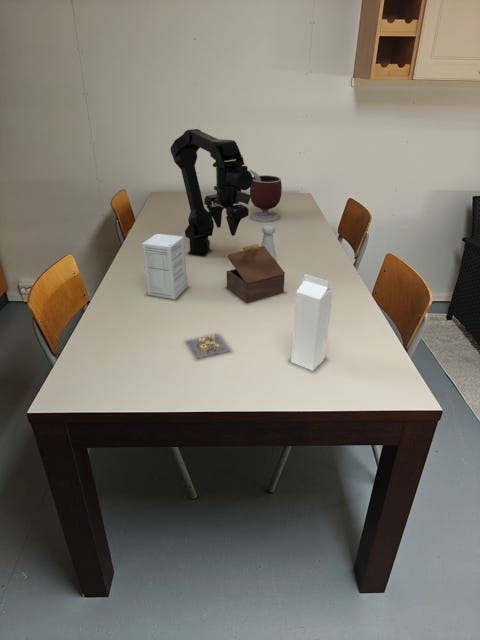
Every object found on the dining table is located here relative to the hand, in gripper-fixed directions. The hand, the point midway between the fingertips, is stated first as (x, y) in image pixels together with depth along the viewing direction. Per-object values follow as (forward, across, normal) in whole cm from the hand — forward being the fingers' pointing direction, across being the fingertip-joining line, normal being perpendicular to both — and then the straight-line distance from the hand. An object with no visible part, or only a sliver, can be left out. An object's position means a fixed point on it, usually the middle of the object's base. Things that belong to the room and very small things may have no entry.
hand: (225, 231), depth 151 cm
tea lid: (+4, -20, +1) cm, 20 cm away
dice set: (+13, -40, +29) cm, 51 cm away
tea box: (+13, -20, +1) cm, 24 cm away
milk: (+13, -58, +11) cm, 60 cm away
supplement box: (+13, -6, +25) cm, 29 cm away
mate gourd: (+13, +40, -43) cm, 61 cm away
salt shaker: (+13, -3, -15) cm, 20 cm away
